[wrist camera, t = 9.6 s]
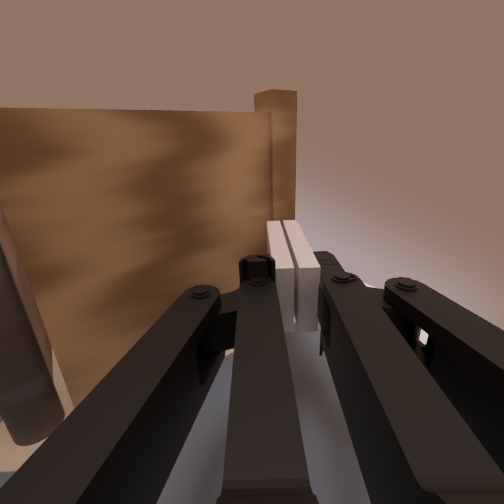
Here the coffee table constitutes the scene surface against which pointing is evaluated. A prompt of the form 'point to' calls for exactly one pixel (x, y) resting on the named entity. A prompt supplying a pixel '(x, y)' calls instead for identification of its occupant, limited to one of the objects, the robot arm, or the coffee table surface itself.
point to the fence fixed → (24, 354)
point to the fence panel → (138, 214)
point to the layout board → (215, 431)
